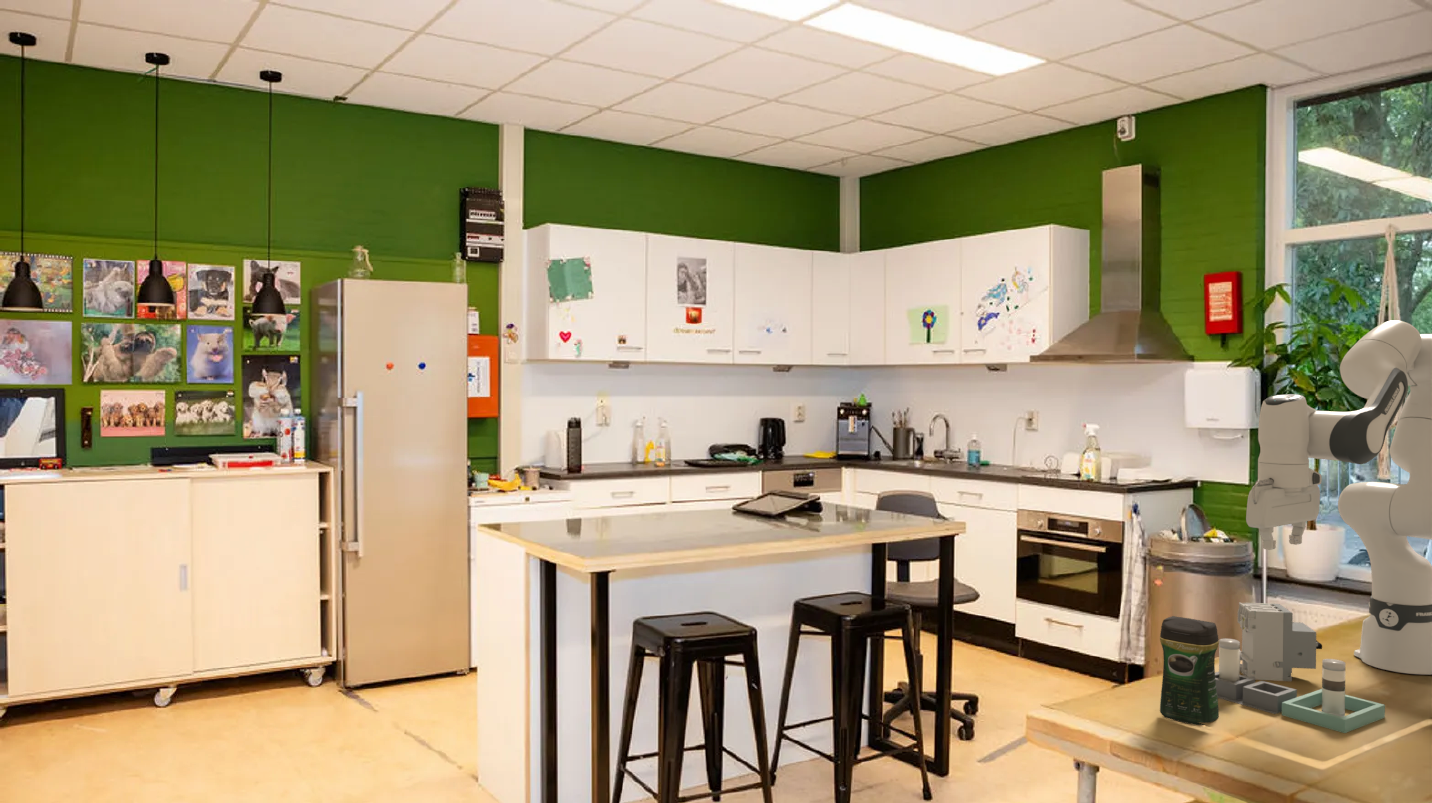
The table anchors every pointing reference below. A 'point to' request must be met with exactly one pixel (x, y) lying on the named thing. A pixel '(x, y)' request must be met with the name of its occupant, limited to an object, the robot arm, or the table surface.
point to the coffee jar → (1189, 670)
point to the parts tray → (1301, 711)
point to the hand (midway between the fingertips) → (1282, 546)
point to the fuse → (1229, 660)
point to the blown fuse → (1333, 687)
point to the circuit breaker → (1274, 642)
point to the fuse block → (1254, 693)
